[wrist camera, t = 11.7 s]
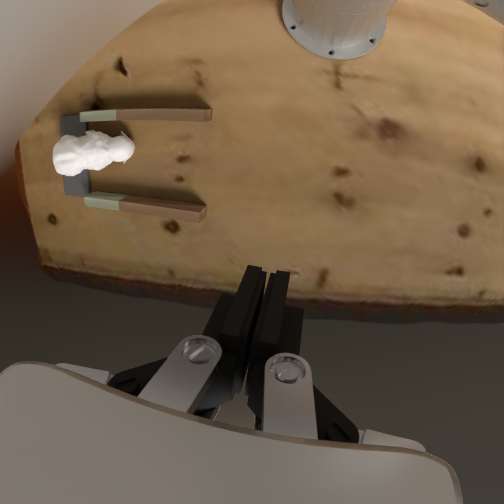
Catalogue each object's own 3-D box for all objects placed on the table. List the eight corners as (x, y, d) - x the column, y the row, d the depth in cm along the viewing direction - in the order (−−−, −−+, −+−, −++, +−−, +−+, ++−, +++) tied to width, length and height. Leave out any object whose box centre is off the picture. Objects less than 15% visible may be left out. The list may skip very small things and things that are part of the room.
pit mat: (62, 116, 40) (60, 116, 39) (87, 113, 39) (85, 114, 39) (67, 193, 47) (65, 194, 46) (91, 196, 46) (89, 197, 45)
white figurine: (44, 140, 33) (112, 130, 32) (77, 130, 41) (141, 123, 40) (49, 182, 36) (116, 179, 35) (81, 167, 43) (143, 164, 43)
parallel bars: (92, 110, 39) (79, 112, 36) (212, 109, 36) (204, 109, 34) (95, 199, 46) (85, 205, 43) (206, 214, 44) (199, 222, 41)
